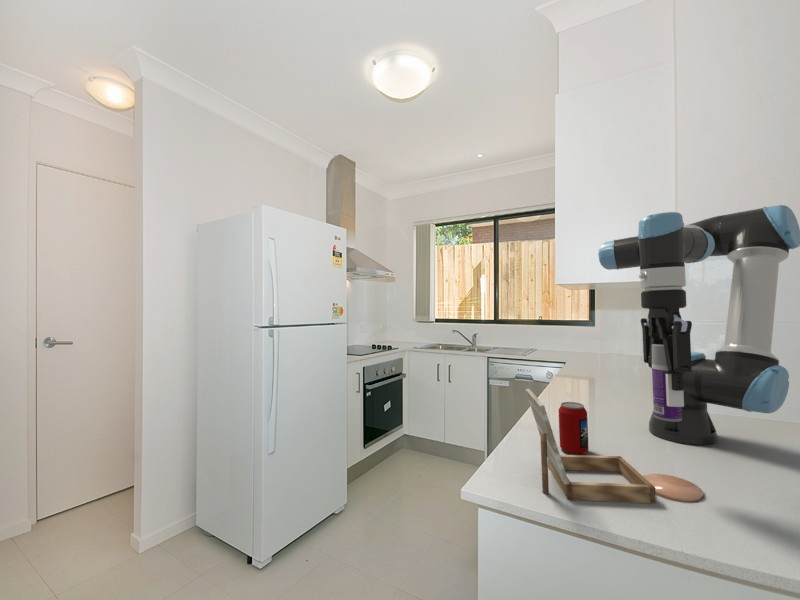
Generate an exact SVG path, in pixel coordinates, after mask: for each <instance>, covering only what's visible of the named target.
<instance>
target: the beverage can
mask: <svg viewBox="0 0 800 600" xmlns="http://www.w3.org/2000/svg"><path fill="white" fill-rule="evenodd" d="M588 420H589V419H588V411H587V410H586V408H585V406H584V404H582V403H579V402H574V401H564V402H561V405H560V407H559V408H558V431H559V432H558V433H559V447H560V449H561V450H562V451H564V452H566V453H567V454H568V455H584V454H586V453H588V452H589V425H588V422H589V421H588Z"/></svg>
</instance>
